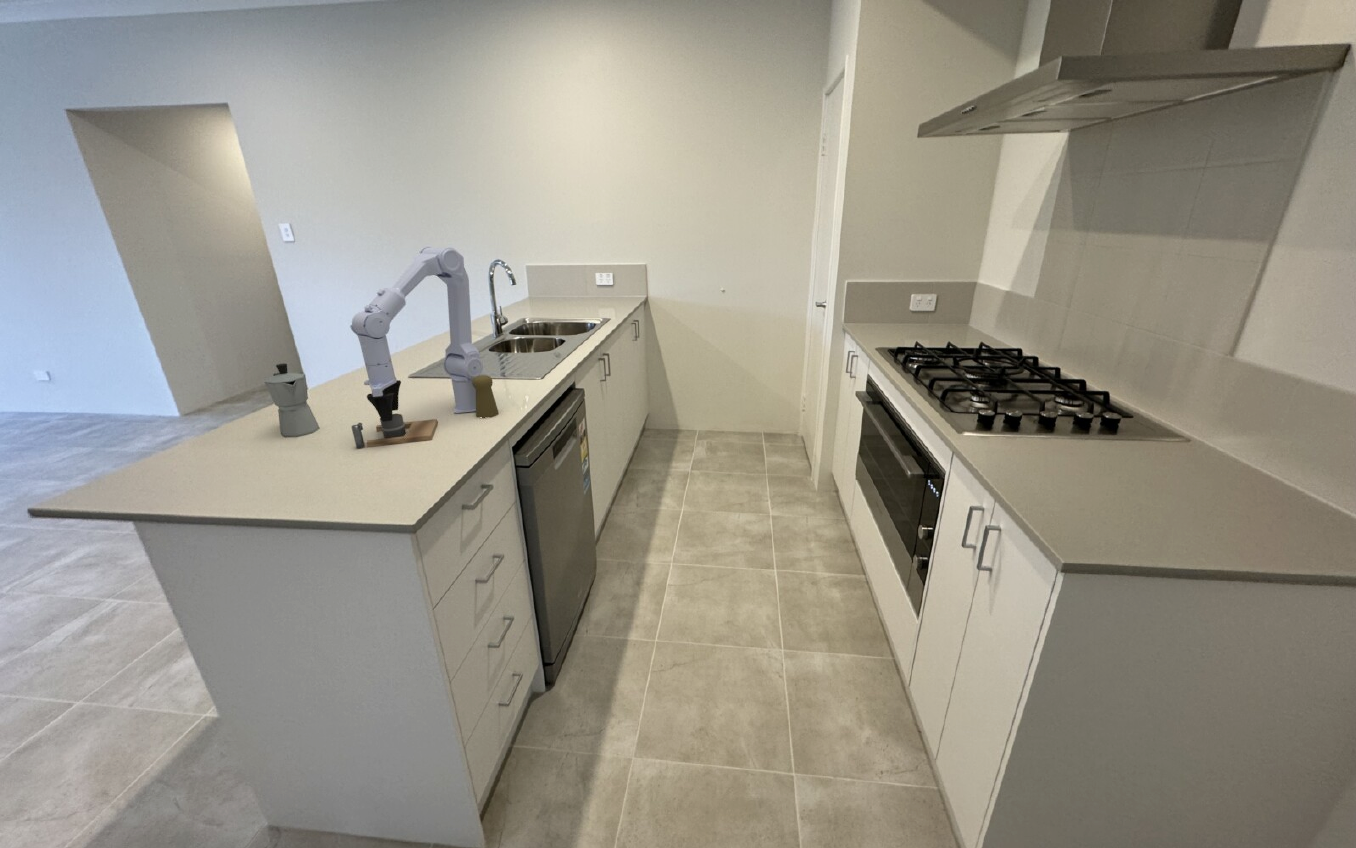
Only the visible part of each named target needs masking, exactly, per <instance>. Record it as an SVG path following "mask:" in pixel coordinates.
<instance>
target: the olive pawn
mask: <svg viewBox="0 0 1356 848" xmlns="http://www.w3.org/2000/svg"><path fill="white" fill-rule="evenodd" d="M493 383H494V382H493V378H492V377H491V376H490V375H488V374H487V375H486V374H481V375H480V376H476V377H474V378H473V380H472V384H473V387H474V388H475V389H476V411H475V417H476V418H478V417H482V418H481V419H486V418H485V417H490V418H494V417H496V416H498V415H499V409H498V406H497V401H496V399H495V396H494V392H493V389H492V386H493Z"/></svg>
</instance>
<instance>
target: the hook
mask: <svg viewBox="0 0 1356 848" xmlns="http://www.w3.org/2000/svg"><path fill="white" fill-rule="evenodd" d="M351 430H352V435H353V439H354V442H355V447H356V449H357V450H358V449H359V450H360V449H364V448H365V447H366V444H365V440H364V437H363V436H364V435H363V433H362V430H364V428H363V422H358V423H357V424H353V425H351Z"/></svg>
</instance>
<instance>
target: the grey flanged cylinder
mask: <svg viewBox="0 0 1356 848" xmlns="http://www.w3.org/2000/svg"><path fill="white" fill-rule="evenodd" d="M392 414H393V417H392V421H384V422H383V421H382V420H381V418H380V417H379V422H380V425H381V426H382V427H381V428H382V430H383V431H382V435H383V439H384V438H393V437H402V436H406V435H405V434H407V432H406V428H405V425H404V422H405V421H404V417H403V415H402V414H401V413H392Z"/></svg>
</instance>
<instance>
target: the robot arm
mask: <svg viewBox="0 0 1356 848" xmlns="http://www.w3.org/2000/svg"><path fill="white" fill-rule="evenodd" d="M464 260H465V259H464V256H463V255H462V254H461V253H460V252H459V251H458V250H456V249H455V248H453V247H433V246H425V247H422V248H421V249H420V251H419V252H418V253H416V254H415V255H414V257H413V261H412V262H411V264H410V265H409V266H408V267H407V269H406V270H405V271H404V272H403V273H402V275H401V276H400V278H399V279H398V280H397V281H396V282H395V283H394V284H393V286H392V287H384V288H383V289H379V290H378V291H377V292H376V294H377V296H376V297H375V298H373V300H372V301H371V302H370V303H369V304H366V305H365V306H364V311H359V312H357V313H356V314H354V316H353V317H352V321H351V324H350V326H349V327H350V329H351V331H352V332H353V333H354V334H355V335H356V336H357V338H358V342H359V344H360V349H361V353H362V357H363V361H364V365H365V370H366V374H367V378H368V380H367V379H366V380H364V382H363V384H364V386H369V387H370V389H371V393H368V394H367V395H366V399H367V401H368V402H370V403H371V405H372V406H373V407H374V409H375V410H376V412H377V414H378V415H379V419H380V418H381V420H382V421H383V422H384V421H392V417H393V414H394V413H393V412H394V411H398V410H399V393H400V387H401V384H402V381H401V380H398V378H397V377H396V375H395V371H394V370H395V369H394V366H393V361H392V357H391V351H390V348H389V343H388V338H387V334H388V333H390V328H391V327H390V324H391V322H392V321H393V320H394V319H395V317H397V315H398V314H399V313H400V312H401V310H403V308H405V306H406V305H407V302H406V301H407V300H406V297H407V296H409V294H410V293H411V292H412V291H413V290H414V289H415V288H416V287H417V286H418V285H419V284H420V283H421V282H422V281H423V280H425V278H426V277H429V276H437V277H438V278H439V279H440V280H441V281H442V282H444V284H445V285H446V288H447V289H446V291H447V305H448V307H447V308H448V322H449V324H448V325H449V326H448V327H449V339H450V343H449V345H448V346H447V347H446V349H445V351H444V352H445V355H444V359H443V361H442V362H443V363H442V366H443V369H444V372H446V374H448V375H449V378H450V379H451V385H452V390H453V396H454V401H455V407H454V410H453V413H454V414H463V413H470V412H471V413H473V412H476V389H475V388H474V387H473V384H472V380H473V378H474V377H476V376H480V375H482V373H483V371H484V365H483V361H482V359H481V355H480V351H479V350H478V349H477V347H475V346H474V344H473V341H472V340H473V339H472V338H473V337H472V319H471V318H472V317H471V299H470V296H471V295H470V279H469V275H468V273H467V270H466V268H465V263H464V262H465V261H464Z"/></svg>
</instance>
